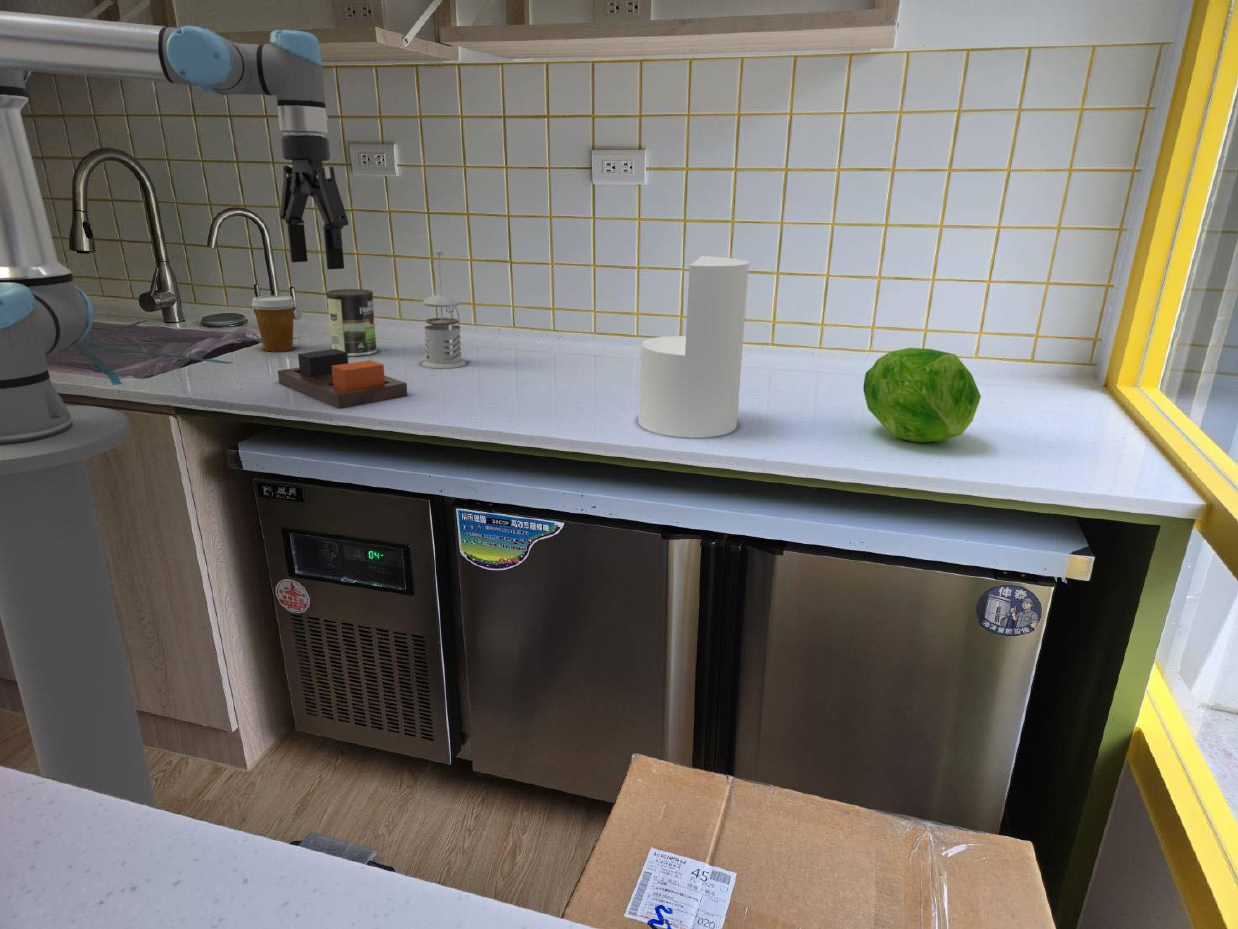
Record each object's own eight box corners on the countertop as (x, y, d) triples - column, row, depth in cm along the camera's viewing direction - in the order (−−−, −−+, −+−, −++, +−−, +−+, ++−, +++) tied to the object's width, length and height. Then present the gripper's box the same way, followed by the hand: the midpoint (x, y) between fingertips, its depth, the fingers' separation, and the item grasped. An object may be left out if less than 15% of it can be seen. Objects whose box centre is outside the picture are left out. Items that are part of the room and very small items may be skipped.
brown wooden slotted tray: (339, 408, 148) (338, 394, 147) (278, 382, 164) (277, 370, 164) (407, 395, 157) (406, 382, 157) (343, 372, 174) (342, 361, 173)
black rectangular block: (312, 382, 161) (309, 357, 159) (300, 378, 164) (297, 353, 162) (349, 376, 166) (347, 352, 165) (337, 372, 170) (335, 348, 168)
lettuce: (1000, 439, 139) (968, 354, 145) (981, 405, 122) (944, 311, 128) (902, 473, 146) (874, 391, 152) (870, 445, 130) (841, 354, 136)
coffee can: (384, 349, 197) (380, 289, 193) (364, 357, 188) (359, 295, 183) (344, 346, 199) (339, 287, 194) (323, 355, 189) (317, 293, 185)
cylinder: (739, 414, 151) (751, 258, 142) (732, 441, 135) (745, 268, 126) (647, 406, 154) (653, 253, 145) (629, 432, 138) (635, 263, 129)
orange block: (346, 396, 152) (344, 370, 150) (333, 391, 155) (331, 365, 153) (385, 390, 157) (383, 364, 155) (372, 385, 160) (370, 360, 159)
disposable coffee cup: (300, 344, 200) (295, 294, 196) (299, 352, 192) (293, 300, 188) (258, 345, 197) (252, 295, 193) (255, 353, 189) (248, 301, 185)
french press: (413, 366, 181) (406, 249, 173) (438, 356, 192) (432, 245, 183) (454, 369, 179) (449, 252, 170) (476, 359, 189) (473, 247, 181)
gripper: (362, 135, 131) (372, 270, 138) (292, 137, 148) (305, 258, 155) (318, 133, 126) (331, 273, 133) (251, 135, 143) (265, 260, 150)
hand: (317, 265), depth 144 cm, fingers open, 13 cm apart
